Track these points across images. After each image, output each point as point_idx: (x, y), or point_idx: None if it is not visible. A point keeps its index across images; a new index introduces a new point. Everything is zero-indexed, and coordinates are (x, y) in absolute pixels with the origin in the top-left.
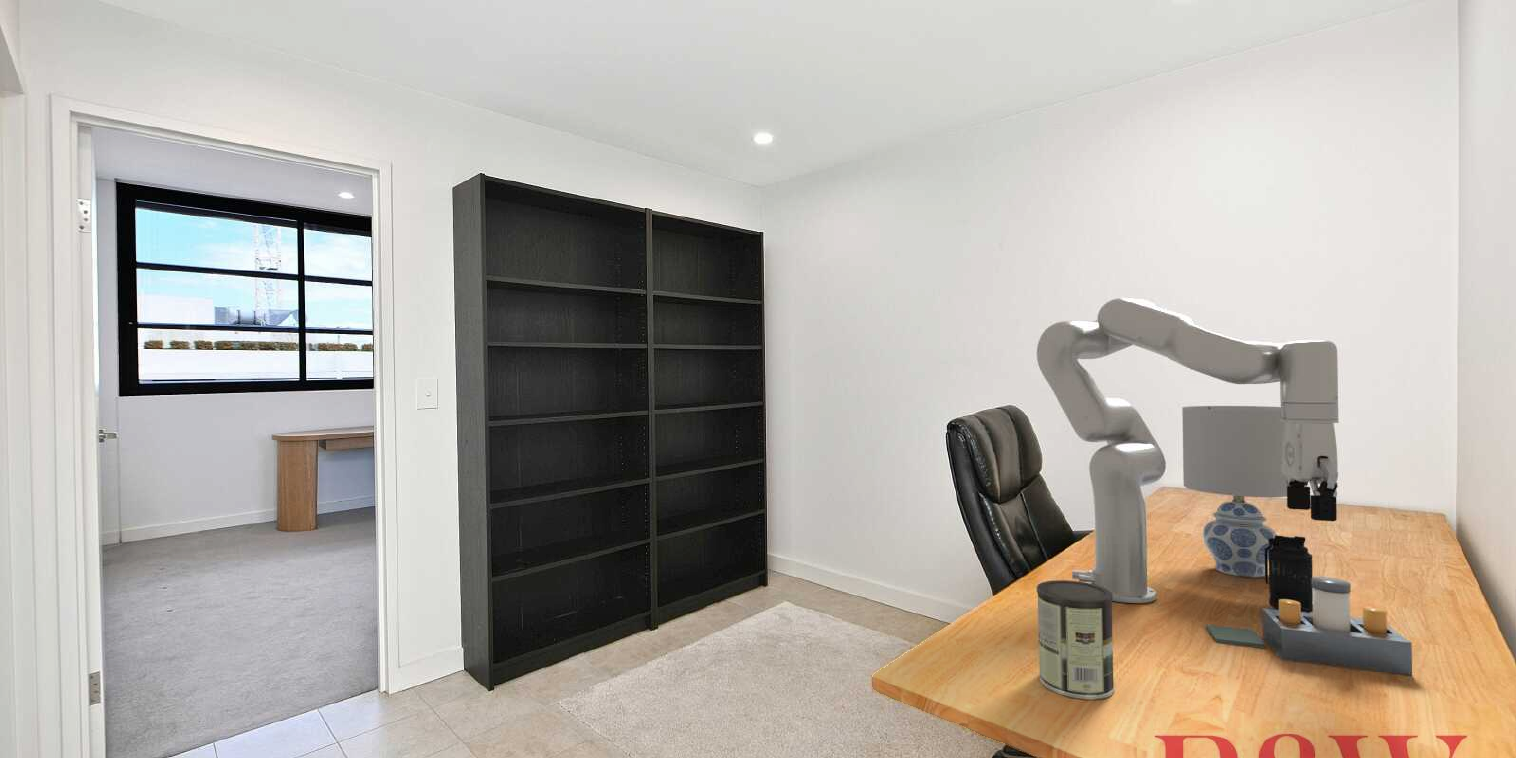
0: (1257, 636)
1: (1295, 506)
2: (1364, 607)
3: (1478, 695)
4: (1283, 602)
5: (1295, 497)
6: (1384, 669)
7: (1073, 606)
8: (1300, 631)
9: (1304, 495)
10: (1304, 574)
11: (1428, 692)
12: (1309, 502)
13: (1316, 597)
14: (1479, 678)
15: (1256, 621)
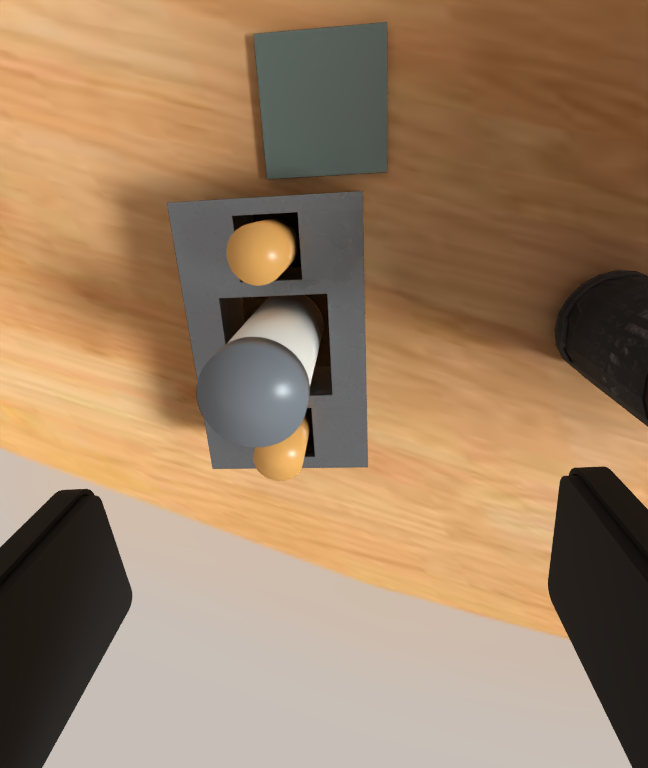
0: (326, 171)
1: (566, 522)
2: (291, 444)
3: (185, 491)
4: (238, 232)
5: (612, 594)
6: None
7: None
8: (176, 251)
9: (610, 680)
10: (618, 391)
11: (155, 426)
12: (574, 642)
13: (240, 333)
14: (275, 524)
15: (504, 206)
